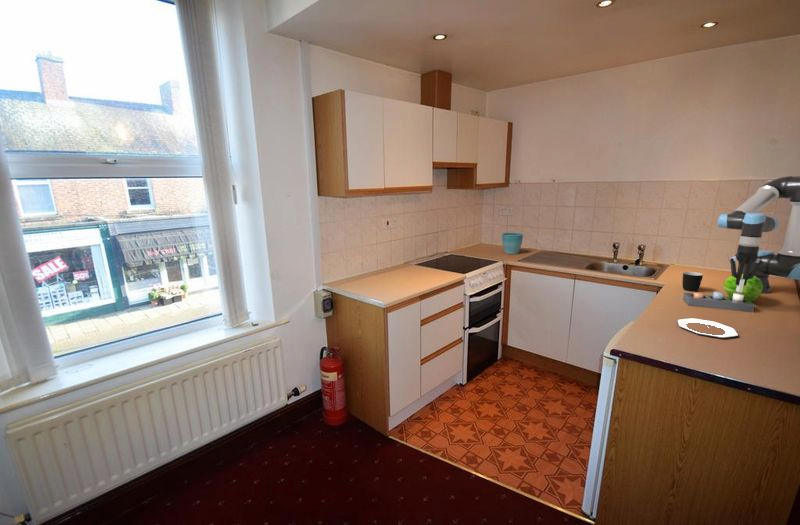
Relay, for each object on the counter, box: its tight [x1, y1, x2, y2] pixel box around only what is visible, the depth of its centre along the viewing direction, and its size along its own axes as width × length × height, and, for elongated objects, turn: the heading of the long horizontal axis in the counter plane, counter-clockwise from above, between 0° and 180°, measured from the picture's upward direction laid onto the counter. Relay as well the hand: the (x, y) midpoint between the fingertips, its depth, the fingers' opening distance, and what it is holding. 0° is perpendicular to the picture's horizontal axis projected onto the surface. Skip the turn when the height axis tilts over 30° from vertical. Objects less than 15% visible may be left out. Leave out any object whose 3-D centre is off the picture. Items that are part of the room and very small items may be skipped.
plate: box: [677, 317, 739, 339], centre depth 161 cm, size 20×20×2 cm
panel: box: [682, 292, 755, 313], centre depth 189 cm, size 26×10×4 cm, turn 66°
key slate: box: [712, 291, 725, 300], centre depth 188 cm, size 4×4×4 cm
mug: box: [681, 271, 704, 293], centre depth 216 cm, size 12×9×10 cm
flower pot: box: [501, 232, 524, 255], centre depth 324 cm, size 18×18×17 cm
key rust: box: [693, 291, 705, 298], centre depth 192 cm, size 4×4×4 cm
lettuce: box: [722, 274, 763, 302], centre depth 196 cm, size 15×23×16 cm
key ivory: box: [732, 293, 744, 302], centre depth 185 cm, size 4×4×4 cm
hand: (739, 291), depth 184 cm, fingers closed
